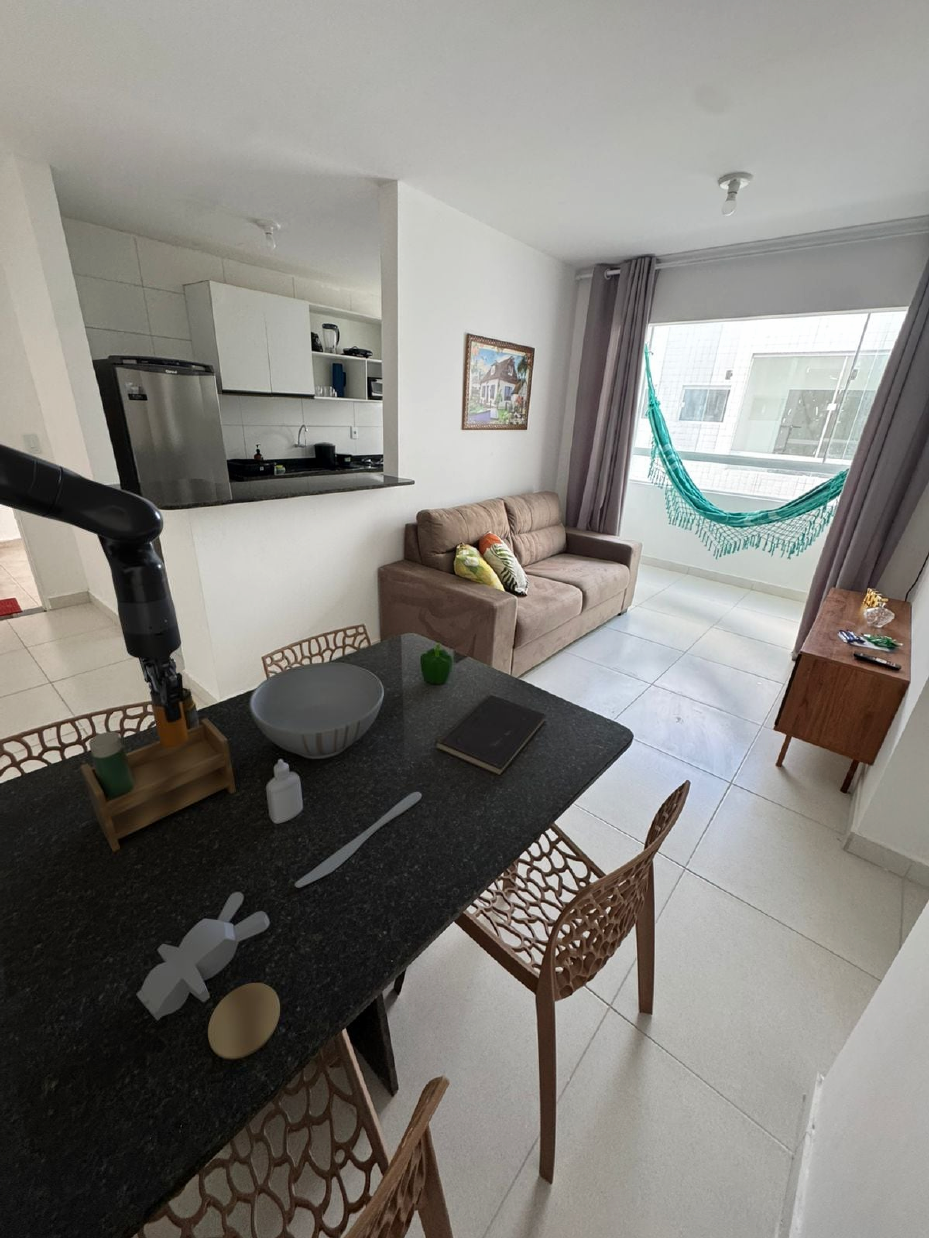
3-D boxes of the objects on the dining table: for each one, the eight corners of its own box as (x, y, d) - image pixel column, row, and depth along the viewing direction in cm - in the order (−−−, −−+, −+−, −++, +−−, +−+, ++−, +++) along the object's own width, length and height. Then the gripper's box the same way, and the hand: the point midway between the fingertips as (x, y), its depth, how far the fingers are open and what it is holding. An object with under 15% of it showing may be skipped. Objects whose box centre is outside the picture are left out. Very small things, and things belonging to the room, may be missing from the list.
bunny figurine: (119, 972, 62) (228, 876, 73) (133, 994, 65) (237, 898, 75) (162, 1023, 57) (271, 912, 68) (175, 1044, 60) (279, 933, 71)
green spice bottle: (107, 802, 82) (91, 751, 78) (99, 788, 84) (84, 738, 80) (137, 789, 85) (124, 739, 80) (129, 775, 87) (116, 727, 83)
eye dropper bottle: (303, 820, 90) (297, 766, 86) (269, 825, 89) (261, 771, 84) (303, 802, 94) (297, 750, 89) (271, 807, 93) (263, 754, 88)
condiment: (189, 728, 113) (180, 681, 108) (216, 740, 109) (208, 692, 104) (158, 746, 107) (147, 697, 102) (186, 759, 103) (175, 710, 98)
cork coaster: (226, 1077, 57) (225, 1074, 56) (197, 1019, 61) (196, 1017, 61) (292, 1020, 62) (292, 1017, 62) (261, 971, 67) (260, 969, 67)
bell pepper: (439, 692, 131) (440, 657, 127) (414, 681, 135) (414, 648, 131) (457, 678, 138) (459, 645, 134) (433, 669, 142) (434, 637, 138)
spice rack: (113, 852, 82) (95, 794, 78) (97, 821, 88) (80, 765, 83) (236, 791, 96) (227, 739, 91) (216, 768, 102) (206, 717, 97)
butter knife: (427, 797, 96) (415, 788, 98) (302, 893, 77) (291, 881, 79) (426, 799, 96) (415, 791, 98) (302, 895, 77) (291, 883, 79)
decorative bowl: (343, 798, 96) (340, 746, 91) (227, 763, 103) (218, 712, 98) (404, 721, 119) (404, 676, 114) (305, 696, 126) (301, 653, 122)
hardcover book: (545, 722, 121) (546, 714, 120) (500, 777, 103) (501, 768, 102) (486, 701, 129) (487, 693, 128) (434, 748, 110) (435, 740, 109)
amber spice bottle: (165, 750, 86) (153, 699, 82) (155, 738, 89) (144, 689, 85) (192, 739, 89) (183, 690, 85) (182, 728, 92) (173, 680, 88)
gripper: (108, 613, 82) (130, 704, 89) (137, 644, 73) (159, 742, 80) (159, 602, 87) (176, 689, 94) (192, 630, 78) (209, 723, 85)
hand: (168, 713), depth 87 cm, fingers closed on amber spice bottle, 4 cm apart
